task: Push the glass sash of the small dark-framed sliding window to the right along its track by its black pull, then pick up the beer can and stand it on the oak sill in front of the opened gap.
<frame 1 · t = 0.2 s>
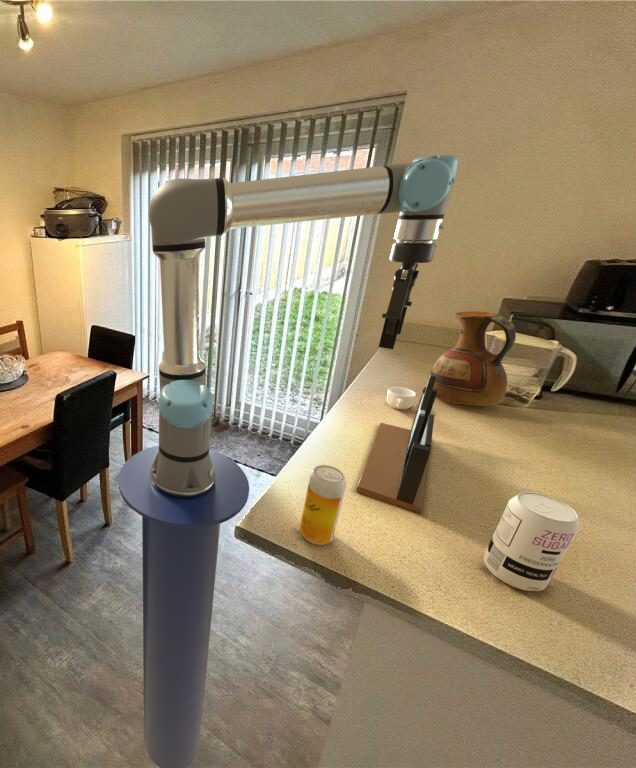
hand: (389, 340, 89), 32 cm above the countertop, tool pointing down, fingers open, 13 cm apart
supplement can: (511, 574, 69), on the countertop
teacup: (397, 408, 127), on the countertop
ceramic pitcher: (459, 400, 131), on the countertop
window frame: (395, 462, 100), on the countertop
window sash: (422, 407, 99), point 13 cm above the countertop, slide at 0.0 cm
beer can: (315, 535, 78), on the countertop
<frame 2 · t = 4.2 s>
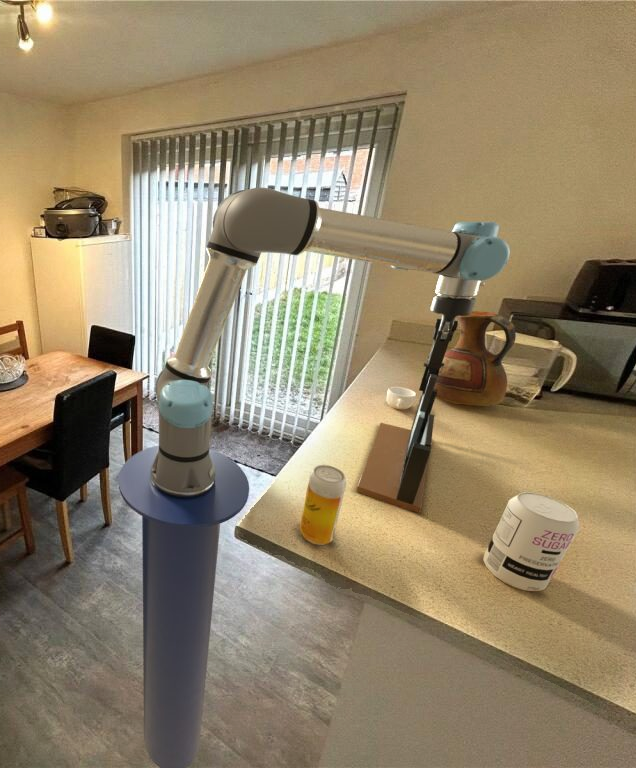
hand: (425, 390, 97), 18 cm above the countertop, tool pointing down, fingers closed
window sash: (422, 408, 98), point 13 cm above the countertop, slide at 1.0 cm, touching gripper
everything else where it was.
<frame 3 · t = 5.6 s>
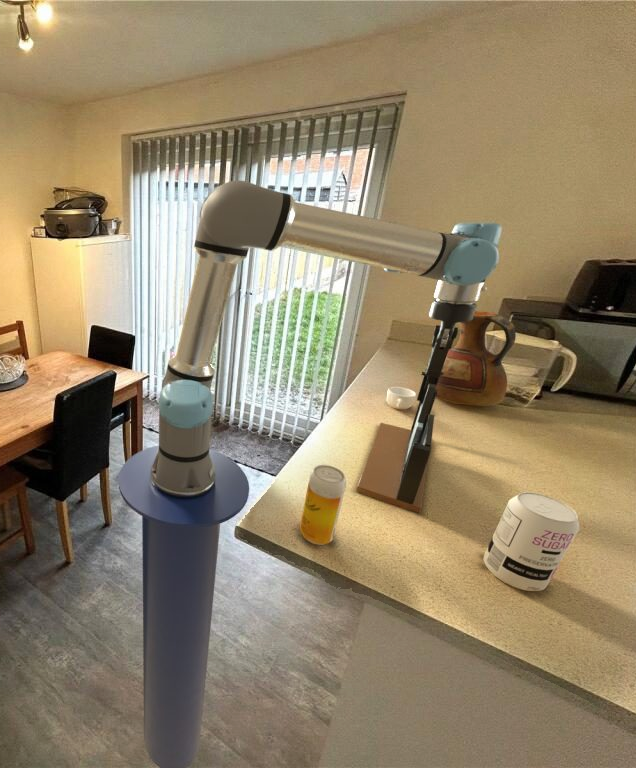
hand: (423, 400, 92), 18 cm above the countertop, tool pointing down, fingers closed
window sash: (420, 419, 93), point 13 cm above the countertop, slide at 8.0 cm, touching gripper
everything else where it was.
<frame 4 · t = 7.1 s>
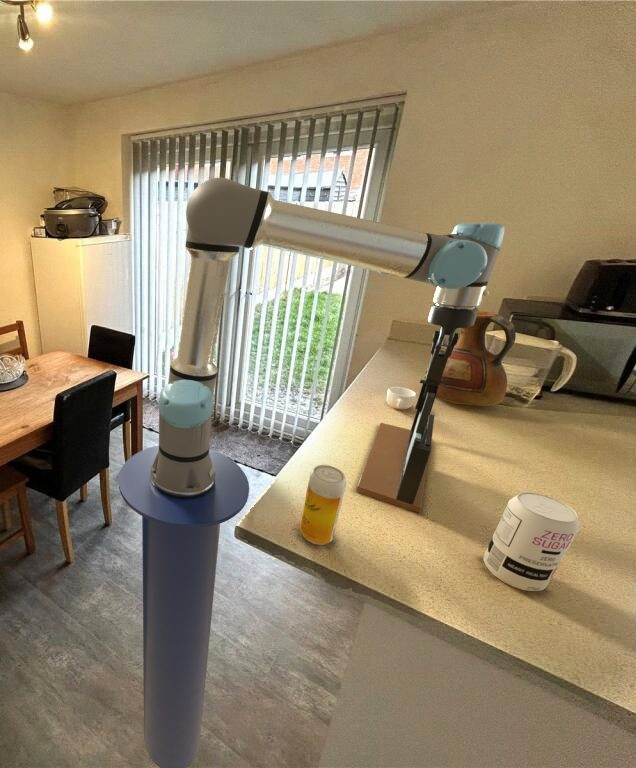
hand: (422, 409, 88), 18 cm above the countertop, tool pointing down, fingers closed
window sash: (418, 429, 89), point 13 cm above the countertop, slide at 13.7 cm, touching gripper
everything else where it was.
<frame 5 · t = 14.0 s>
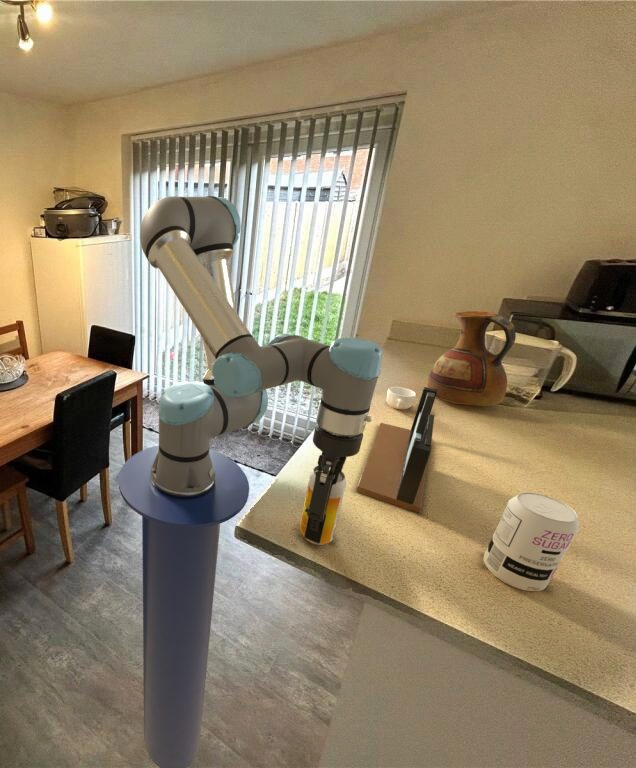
hand: (316, 528, 77), 2 cm above the countertop, tool pointing down, fingers closed on beer can, 6 cm apart
window sash: (418, 429, 89), point 13 cm above the countertop, slide at 13.8 cm
beer can: (315, 535, 78), on the countertop, touching gripper
everything else where it was.
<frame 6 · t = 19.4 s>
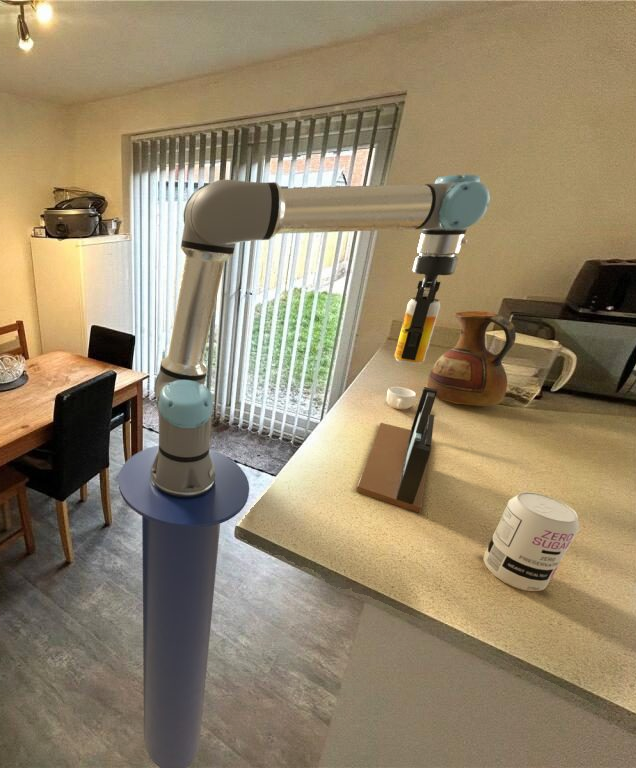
hand: (409, 354, 94), 27 cm above the countertop, tool pointing down, fingers closed on beer can, 6 cm apart
beer can: (408, 361, 95), point 25 cm above the countertop, touching gripper
everything else where it was.
when the fingers open (3 cm above the countertop, at t = 25.2 s): beer can stays where it is, resting on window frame.
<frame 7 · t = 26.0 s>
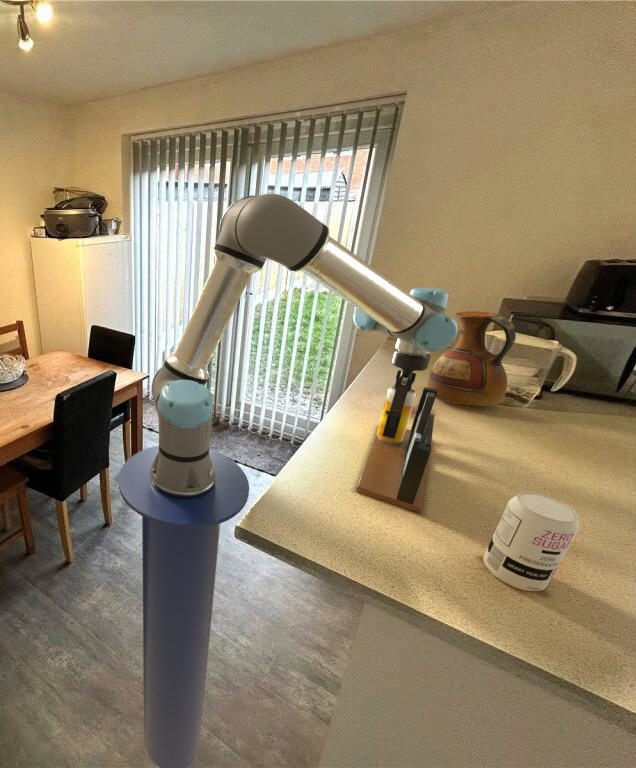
hand: (391, 426, 106), 6 cm above the countertop, tool pointing down, fingers open, 13 cm apart
beer can: (388, 439, 107), point 1 cm above the countertop, touching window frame
everything else where it was.
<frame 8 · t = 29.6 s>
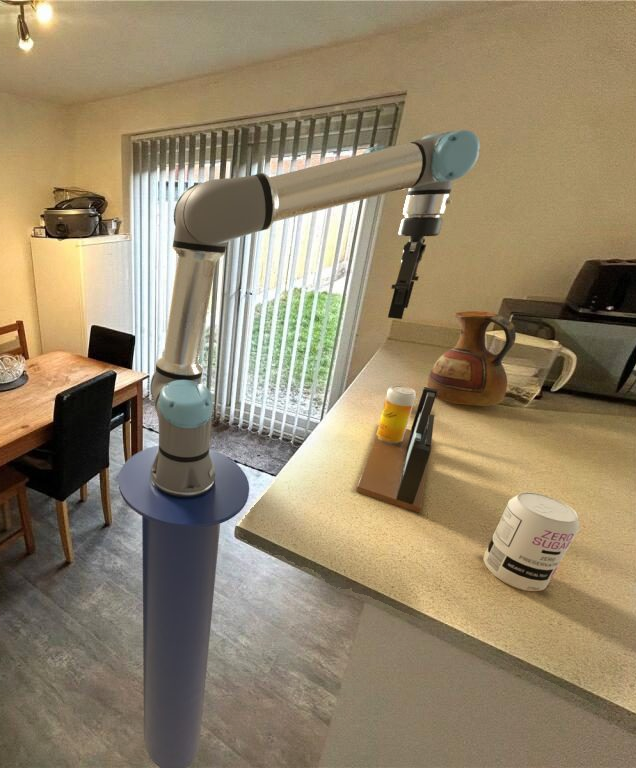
hand: (397, 312, 94), 37 cm above the countertop, tool pointing down, fingers open, 13 cm apart
nothing on the countertop moved.
at the end: window sash slide at 13.8 cm; beer can inside the target area on the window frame (0.6 cm from its centre), point 1.3 cm above the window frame's base; beer can tilted 0° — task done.
